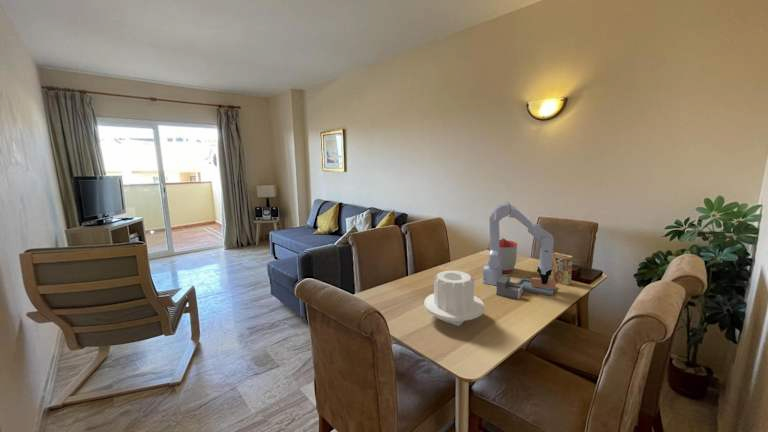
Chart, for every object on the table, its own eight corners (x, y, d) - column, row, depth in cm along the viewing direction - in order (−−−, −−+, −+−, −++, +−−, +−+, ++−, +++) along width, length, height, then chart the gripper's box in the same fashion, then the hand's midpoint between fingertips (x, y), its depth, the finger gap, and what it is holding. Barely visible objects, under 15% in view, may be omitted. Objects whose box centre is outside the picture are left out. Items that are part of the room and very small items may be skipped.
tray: (515, 289, 162) (515, 286, 161) (520, 280, 172) (520, 278, 172) (552, 296, 152) (552, 293, 152) (555, 286, 163) (555, 284, 162)
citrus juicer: (490, 263, 200) (491, 233, 196) (519, 268, 190) (520, 236, 186) (482, 271, 188) (483, 239, 184) (512, 277, 178) (513, 243, 174)
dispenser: (496, 294, 156) (496, 281, 155) (501, 287, 164) (502, 274, 163) (518, 299, 150) (519, 285, 149) (522, 291, 158) (523, 278, 157)
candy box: (571, 283, 166) (573, 256, 163) (566, 285, 164) (569, 257, 161) (554, 278, 173) (556, 252, 171) (550, 280, 171) (552, 253, 168)
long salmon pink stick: (531, 286, 162) (530, 278, 162) (531, 286, 163) (531, 277, 163) (555, 289, 156) (554, 280, 156) (555, 288, 157) (555, 279, 157)
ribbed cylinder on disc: (441, 299, 152) (442, 262, 149) (492, 314, 137) (494, 273, 133) (413, 321, 133) (412, 279, 130) (468, 341, 118) (469, 294, 114)
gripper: (553, 263, 149) (551, 290, 151) (556, 255, 160) (555, 280, 163) (537, 261, 153) (535, 287, 155) (541, 253, 164) (540, 277, 167)
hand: (544, 283), depth 159 cm, fingers closed on long salmon pink stick, 1 cm apart
